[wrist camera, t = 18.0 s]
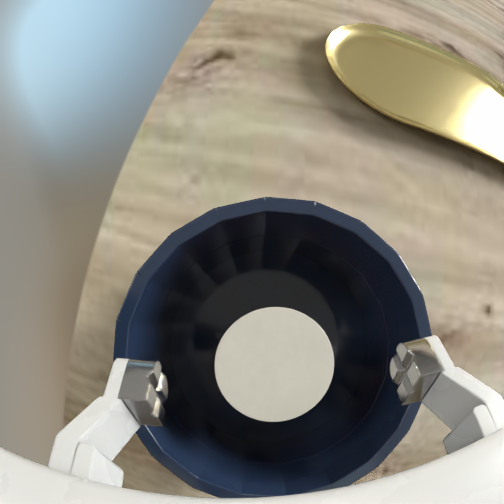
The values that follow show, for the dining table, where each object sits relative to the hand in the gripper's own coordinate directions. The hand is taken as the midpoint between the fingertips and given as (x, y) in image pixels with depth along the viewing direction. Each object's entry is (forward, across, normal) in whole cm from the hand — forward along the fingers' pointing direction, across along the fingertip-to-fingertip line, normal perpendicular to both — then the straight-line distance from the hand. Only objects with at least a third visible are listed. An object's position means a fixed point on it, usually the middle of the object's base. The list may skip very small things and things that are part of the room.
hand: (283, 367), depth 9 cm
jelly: (+9, 0, +10) cm, 13 cm away
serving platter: (+28, -26, -9) cm, 39 cm away
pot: (+9, 0, +10) cm, 13 cm away
